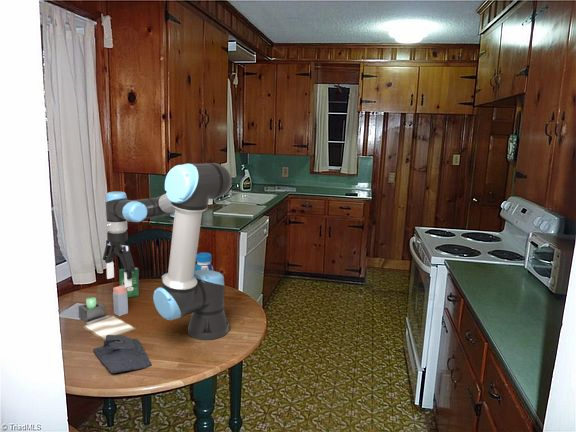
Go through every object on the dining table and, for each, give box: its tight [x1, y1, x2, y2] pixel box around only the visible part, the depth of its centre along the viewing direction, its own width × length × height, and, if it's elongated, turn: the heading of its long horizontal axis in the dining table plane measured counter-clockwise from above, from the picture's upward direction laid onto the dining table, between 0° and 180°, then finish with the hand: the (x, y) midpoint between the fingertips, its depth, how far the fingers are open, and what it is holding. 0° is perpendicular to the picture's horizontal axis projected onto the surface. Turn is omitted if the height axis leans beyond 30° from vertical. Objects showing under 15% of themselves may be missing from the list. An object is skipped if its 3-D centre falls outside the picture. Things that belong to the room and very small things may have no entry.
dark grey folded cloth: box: [92, 334, 153, 374], centre depth 141 cm, size 15×22×5 cm
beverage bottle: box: [194, 252, 214, 271], centre depth 193 cm, size 8×8×20 cm
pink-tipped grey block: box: [112, 286, 129, 317], centre depth 174 cm, size 4×4×11 cm
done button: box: [85, 296, 97, 309], centre depth 169 cm, size 4×4×5 cm
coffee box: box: [118, 267, 140, 298], centre depth 191 cm, size 8×3×13 cm, turn 119°
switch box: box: [78, 301, 106, 323], centre depth 169 cm, size 7×7×5 cm
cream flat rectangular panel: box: [80, 314, 138, 342], centre depth 161 cm, size 17×13×1 cm
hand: (119, 282), depth 172 cm, fingers open, 13 cm apart
